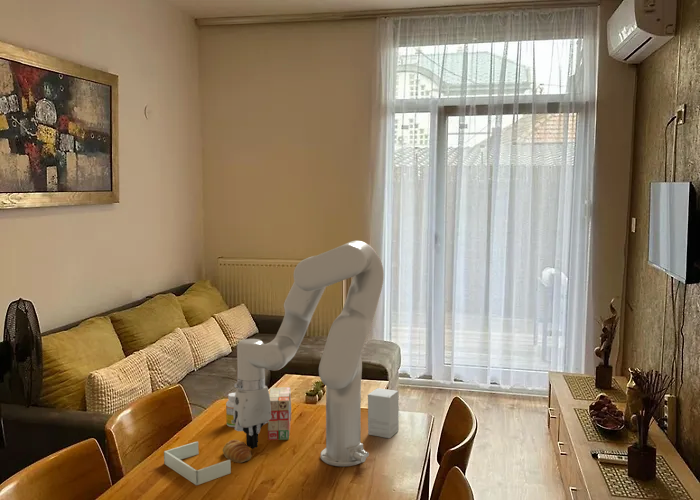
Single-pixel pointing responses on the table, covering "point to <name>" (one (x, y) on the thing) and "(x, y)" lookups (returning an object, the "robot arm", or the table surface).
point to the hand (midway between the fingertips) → (252, 446)
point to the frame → (195, 476)
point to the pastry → (237, 451)
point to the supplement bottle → (230, 410)
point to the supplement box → (383, 413)
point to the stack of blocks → (280, 414)
